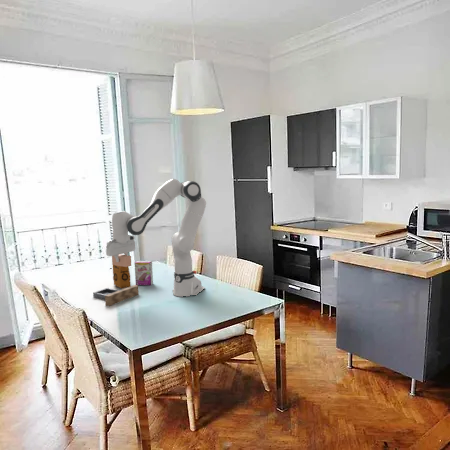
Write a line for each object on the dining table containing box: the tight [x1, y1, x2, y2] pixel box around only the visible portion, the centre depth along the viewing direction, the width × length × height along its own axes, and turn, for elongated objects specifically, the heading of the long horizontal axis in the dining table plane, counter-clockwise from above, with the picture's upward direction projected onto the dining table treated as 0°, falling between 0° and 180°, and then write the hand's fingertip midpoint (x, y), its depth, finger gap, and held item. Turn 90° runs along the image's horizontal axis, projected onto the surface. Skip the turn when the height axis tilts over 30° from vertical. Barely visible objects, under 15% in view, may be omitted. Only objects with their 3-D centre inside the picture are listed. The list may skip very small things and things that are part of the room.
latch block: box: [111, 254, 132, 267], centre depth 234 cm, size 4×12×6 cm, turn 58°
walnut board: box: [104, 284, 140, 307], centre depth 238 cm, size 24×3×6 cm, turn 147°
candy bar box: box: [134, 260, 154, 286], centre depth 268 cm, size 11×5×16 cm, turn 84°
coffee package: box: [112, 265, 132, 290], centre depth 265 cm, size 10×12×22 cm
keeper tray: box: [92, 287, 119, 301], centre depth 245 cm, size 11×17×3 cm, turn 57°
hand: (121, 260), depth 234 cm, fingers closed on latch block, 4 cm apart
